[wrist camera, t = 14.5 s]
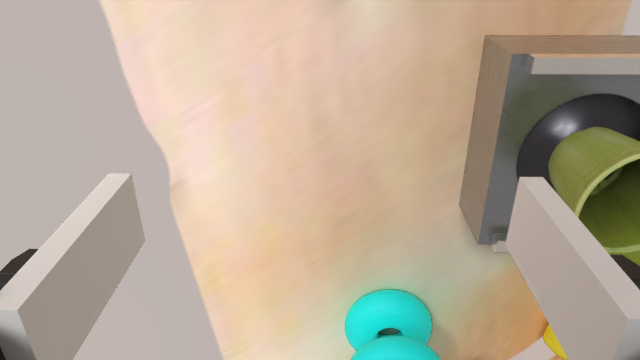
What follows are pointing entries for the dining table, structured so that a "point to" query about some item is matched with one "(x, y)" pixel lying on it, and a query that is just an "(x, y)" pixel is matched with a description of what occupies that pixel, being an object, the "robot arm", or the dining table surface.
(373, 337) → the donuts
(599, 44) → the gray open-top box
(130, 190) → the robot arm
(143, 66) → the dining table surface
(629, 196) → the plant pot
